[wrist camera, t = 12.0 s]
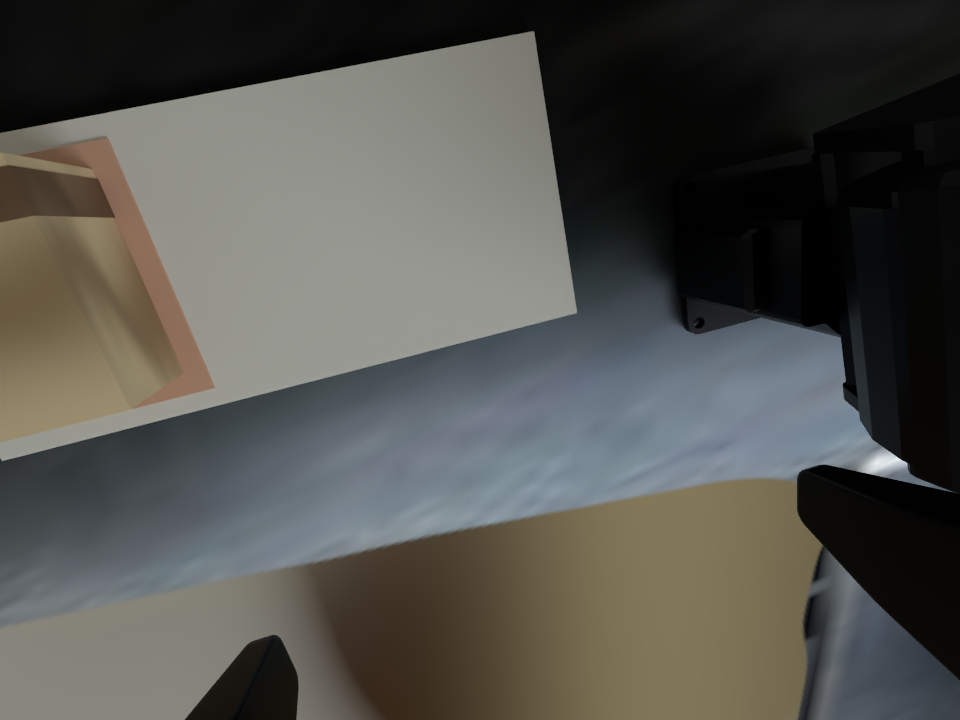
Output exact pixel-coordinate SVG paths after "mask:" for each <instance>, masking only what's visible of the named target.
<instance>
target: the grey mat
mask: <svg viewBox="0 0 960 720" xmlns="http://www.w3.org/2000/svg"><path fill="white" fill-rule="evenodd" d="M1 152H2V153H8V154H13V155H19V156H24V157H29V158H35V159H40V160H46V161H51V162H56V163H62V164H67V165H73V166H78V167H84V168H89V169H93V171H94V173H95V176H96V178H97V179H98V180H99V182H100V184H101V186H102V189H103V191H104V193H105V195H106V198H107V200H108V202H109V204H110V207H111V209H112V211H113V213H114V215H115V220H116V222H117V224H118V227H119V229H120V231H121V233H122V236H123V238H124V240H125V242H126V245H127V247H128V249H129V251H130V253H131V256H132V258H133V260H134V262H135V265H136V267H137V269H138V271H139V273H140V276H141V278H142V280H143V282H144V285H145V287H146V289H147V291H148V293H149V296H150V298H151V300H152V302H153V305H154V307H155V309H156V311H157V314H158V316H159V318H160V320H161V322H162V325H163V327H164V329H165V331H166V334H167V336H168V338H169V340H170V342H171V345H172V347H173V349H174V351H175V354H176V356H177V358H178V360H179V362H180V365H181V367H182V369H183V371H184V373H183V374H182V375H180V376H179V377H177V378H176V379H175V380H173V381H172V382H170V383H169V384H167V385H166V386H164V387H163V388H161V389H160V390H159V391H157V392H156V393H154V394H153V395H151V396H150V397H148V398H147V399H146V400H144V401H143V402H141V403H140V404H138V405H137V406H135V407H134V408H132V409H131V410H127V411H123V412H119V413H115V414H111V415H108V416H104V417H100V418H96V419H92V420H88V421H84V422H80V423H76V424H72V425H68V426H64V427H60V428H56V429H52V430H48V431H44V432H40V433H37V434H33V435H29V436H25V437H21V438H17V439H13V440H9V441H5V442H1V443H0V458H1V460H2V461H4V460H8V459H12V458H16V457H20V456H24V455H27V454H31V453H35V452H39V451H43V450H47V449H51V448H55V447H58V446H62V445H66V444H70V443H74V442H78V441H82V440H86V439H90V438H93V437H97V436H101V435H105V434H109V433H113V432H117V431H121V430H124V429H128V428H132V427H136V426H140V425H144V424H148V423H152V422H156V421H159V420H163V419H167V418H171V417H175V416H179V415H183V414H187V413H190V412H194V411H198V410H202V409H206V408H210V407H214V406H218V405H222V404H225V403H229V402H233V401H237V400H241V399H245V398H249V397H253V396H256V395H260V394H264V393H268V392H272V391H276V390H280V389H284V388H288V387H291V386H295V385H299V384H303V383H307V382H311V381H315V380H319V379H323V378H326V377H330V376H334V375H338V374H342V373H346V372H350V371H354V370H357V369H361V368H365V367H369V366H373V365H377V364H381V363H385V362H389V361H392V360H396V359H400V358H404V357H408V356H412V355H416V354H420V353H423V352H427V351H431V350H435V349H439V348H443V347H447V346H451V345H455V344H458V343H462V342H466V341H470V340H474V339H478V338H482V337H486V336H489V335H493V334H497V333H501V332H505V331H509V330H513V329H517V328H521V327H524V326H528V325H532V324H536V323H540V322H544V321H548V320H552V319H555V318H559V317H563V316H567V315H571V314H575V313H577V309H576V303H575V296H574V289H573V283H572V276H571V270H570V263H569V257H568V250H567V244H566V237H565V231H564V224H563V218H562V211H561V204H560V198H559V191H558V185H557V178H556V172H555V165H554V159H553V152H552V146H551V139H550V133H549V126H548V119H547V113H546V106H545V100H544V93H543V87H542V80H541V74H540V67H539V61H538V54H537V47H536V41H535V34H534V31H532V32H527V33H521V34H516V35H511V36H506V37H501V38H495V39H490V40H485V41H480V42H474V43H469V44H464V45H459V46H453V47H448V48H443V49H438V50H433V51H427V52H422V53H417V54H412V55H406V56H401V57H396V58H391V59H385V60H380V61H375V62H370V63H365V64H359V65H354V66H349V67H344V68H338V69H333V70H328V71H323V72H317V73H312V74H307V75H302V76H297V77H291V78H286V79H281V80H276V81H270V82H265V83H260V84H255V85H249V86H244V87H239V88H234V89H229V90H223V91H218V92H213V93H208V94H202V95H197V96H192V97H187V98H181V99H176V100H171V101H166V102H161V103H155V104H150V105H145V106H140V107H134V108H129V109H124V110H119V111H113V112H108V113H103V114H98V115H92V116H87V117H82V118H77V119H72V120H66V121H61V122H56V123H51V124H45V125H40V126H35V127H30V128H24V129H19V130H14V131H9V132H4V133H0V153H1Z"/></svg>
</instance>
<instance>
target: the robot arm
mask: <svg viewBox="0 0 960 720" xmlns="http://www.w3.org/2000/svg"><path fill="white" fill-rule="evenodd" d="M813 140H814V147H809V148H805V149H800V150H796V151H792V152H788V153H783V154H779V155H775V156H770V157H766V158H762V159H757V160H753V161H749V162H744V163H740V164H736V165H731V166H727V167H723V168H719V169H714V170H710V171H706V172H701V173H697V174H693V175H688V176H684V177H681V178H679V179H678V180H677V181H676V182H675V184H674V186H673V204H674V216H675V229H676V233H675V235H674V247H675V260H676V272H677V284H678V293H679V294H680V295H681V305H682V317H683V325H684V328H685V329H686V330H687V331H689V332H691V333H694V334H701V333H705V332H709V331H712V330H716V329H720V328H723V327H727V326H731V325H735V324H738V323H742V322H746V321H749V320H753V319H757V318H760V317H761V318H765V319H769V320H773V321H777V322H781V323H785V324H789V325H793V326H797V327H801V328H806V329H810V330H814V331H818V332H822V333H826V334H830V335H834V336H838V337H841V342H842V351H843V359H844V368H845V377H846V382H845V383H843V393H844V399H845V400H846V401H847V402H848V403H849V404H850V405H852V406H853V407H854V408H855V409H856V410H857V411H859V414H860V421H861V422H862V424H863V425H864V427H865V428H866V430H867V431H868V433H869V435H870V436H871V438H872V439H873V440H874V441H875V442H877V443H878V444H880V445H881V446H883V447H884V448H885V449H887V450H888V451H890V452H891V453H893V454H894V455H895V456H897V457H898V458H900V459H901V460H903V461H905V462H907V463H908V470H909V472H910V474H912V475H913V476H915V477H917V478H919V479H921V480H924V481H926V482H929V483H931V484H934V485H937V486H939V487H942V488H944V489H947V490H950V491H952V492H949V491H944V490H939V489H935V488H930V487H926V486H921V485H916V484H912V483H907V482H903V481H898V480H893V479H889V478H884V477H880V476H875V475H871V474H866V473H861V472H857V471H852V470H848V469H843V468H838V467H834V466H829V465H818V466H814V467H811V468H808V469H805V470H802V471H801V472H800V473H799V475H798V477H797V511H798V514H799V517H800V519H801V520H802V522H803V523H804V525H805V526H806V527H807V528H808V529H809V530H810V531H811V532H812V534H813V535H814V536H815V537H816V538H817V539H818V540H819V541H820V542H821V543H822V544H823V546H824V547H825V548H826V549H827V550H828V551H829V552H830V553H831V554H832V555H833V556H834V558H835V559H836V560H837V561H838V562H839V563H840V564H841V565H842V566H843V567H844V568H845V569H846V571H847V572H848V573H849V574H850V575H851V576H852V577H853V578H854V579H855V580H856V581H857V583H858V584H859V585H860V586H861V587H862V588H863V589H864V590H865V591H866V592H867V593H868V594H869V595H870V596H871V597H872V598H873V599H874V600H875V601H876V603H877V604H878V605H880V606H881V607H882V608H883V609H884V610H885V611H886V612H887V613H888V614H889V615H890V616H891V617H892V618H893V619H894V620H895V621H896V622H897V623H898V624H900V625H901V626H902V627H903V628H904V629H905V630H906V631H907V632H908V633H909V634H910V635H911V636H912V637H914V638H915V639H916V640H917V641H918V642H919V643H920V644H921V645H922V646H923V647H924V648H925V649H926V650H928V651H929V652H930V653H931V654H932V655H933V656H934V657H935V658H936V659H937V660H938V661H939V662H940V663H942V664H943V665H944V666H945V667H946V668H947V669H948V670H949V671H950V672H951V673H952V674H953V675H954V676H956V677H957V678H958V679H959V680H960V74H957V75H954V76H951V77H949V78H947V79H944V80H942V81H939V82H937V83H934V84H932V85H930V86H927V87H925V88H922V89H920V90H918V91H915V92H913V93H910V94H908V95H905V96H903V97H901V98H898V99H896V100H893V101H891V102H889V103H886V104H884V105H881V106H879V107H876V108H874V109H872V110H869V111H867V112H864V113H862V114H860V115H857V116H855V117H852V118H850V119H847V120H845V121H843V122H840V123H838V124H835V125H833V126H831V127H828V128H826V129H823V130H821V131H818V132H816V133H814V134H813ZM811 156H812V162H811V163H810V157H811ZM686 184H688V185H689V187H690V192H689V194H688V195H686V194H685V192H684V188H685V186H686ZM696 318H699V322H698V324H697V325H696V326H694V321H695V319H696ZM953 492H955V493H953ZM297 702H298V676H297V672H296V670H295V668H294V665H293V663H292V661H291V659H290V657H289V655H288V653H287V650H286V648H285V646H284V644H283V642H282V640H281V638H280V637H278V636H277V635H271V636H268V637H264V638H262V639H258V640H255V641H252V642H250V643H249V644H248V645H247V646H246V647H245V648H244V649H243V650H242V651H241V653H240V654H239V655H238V656H237V657H236V658H235V660H234V661H233V662H232V663H231V665H230V666H229V667H228V668H227V669H226V671H225V672H224V673H223V674H222V675H221V677H220V678H219V679H218V680H217V681H216V683H215V684H214V685H213V686H212V687H211V689H210V690H209V691H208V692H207V694H206V695H205V696H204V697H203V698H202V700H201V701H200V702H199V703H198V704H197V706H196V707H195V708H194V709H193V710H192V712H191V713H190V714H189V715H188V716H187V718H186V719H185V720H296V716H297Z"/></svg>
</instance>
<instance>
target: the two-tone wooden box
mask: <svg viewBox="0 0 960 720" xmlns="http://www.w3.org/2000/svg"><path fill="white" fill-rule="evenodd" d="M183 373H184V371H183V369H182V367H181V365H180V362H179V360H178V358H177V356H176V354H175V351H174V349H173V347H172V345H171V342H170V340H169V338H168V336H167V334H166V331H165V329H164V327H163V325H162V322H161V320H160V318H159V316H158V314H157V311H156V309H155V307H154V305H153V302H152V300H151V298H150V296H149V293H148V291H147V289H146V287H145V285H144V282H143V280H142V278H141V276H140V273H139V271H138V269H137V267H136V265H135V262H134V260H133V258H132V256H131V253H130V251H129V249H128V247H127V245H126V242H125V240H124V238H123V236H122V233H121V231H120V229H119V227H118V224H117V222H116V220H115V215H114V213H113V211H112V209H111V207H110V204H109V202H108V200H107V198H106V195H105V193H104V191H103V189H102V186H101V184H100V182H99V180H98V179H97V178H96V176H95V173H94V171H93V169H89V168H84V167H78V166H73V165H67V164H62V163H56V162H51V161H46V160H40V159H35V158H29V157H24V156H19V155H13V154H8V153H2V152H1V153H0V443H1V442H5V441H9V440H13V439H17V438H21V437H25V436H29V435H33V434H37V433H40V432H44V431H48V430H52V429H56V428H60V427H64V426H68V425H72V424H76V423H80V422H84V421H88V420H92V419H96V418H100V417H104V416H108V415H111V414H115V413H119V412H123V411H127V410H131V409H132V408H134V407H135V406H137V405H138V404H140V403H141V402H143V401H144V400H146V399H147V398H148V397H150V396H151V395H153V394H154V393H156V392H157V391H159V390H160V389H161V388H163V387H164V386H166V385H167V384H169V383H170V382H172V381H173V380H175V379H176V378H177V377H179V376H180V375H182V374H183Z"/></svg>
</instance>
